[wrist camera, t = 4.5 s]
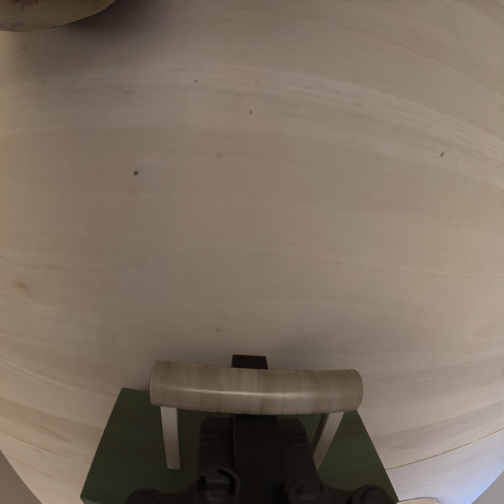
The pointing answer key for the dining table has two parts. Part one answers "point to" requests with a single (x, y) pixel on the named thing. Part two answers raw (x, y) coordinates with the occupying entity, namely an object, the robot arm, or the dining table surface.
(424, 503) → the lazy susan
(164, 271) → the dining table surface
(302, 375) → the drawer
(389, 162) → the dining table surface
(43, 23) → the fruit
